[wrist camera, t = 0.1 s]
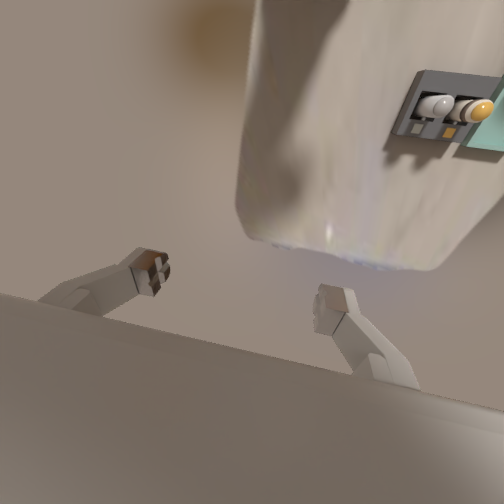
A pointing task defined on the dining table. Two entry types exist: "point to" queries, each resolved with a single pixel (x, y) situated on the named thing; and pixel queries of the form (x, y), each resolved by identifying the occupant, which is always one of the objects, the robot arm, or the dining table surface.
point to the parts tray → (489, 125)
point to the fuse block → (439, 85)
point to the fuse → (433, 106)
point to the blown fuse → (470, 110)
